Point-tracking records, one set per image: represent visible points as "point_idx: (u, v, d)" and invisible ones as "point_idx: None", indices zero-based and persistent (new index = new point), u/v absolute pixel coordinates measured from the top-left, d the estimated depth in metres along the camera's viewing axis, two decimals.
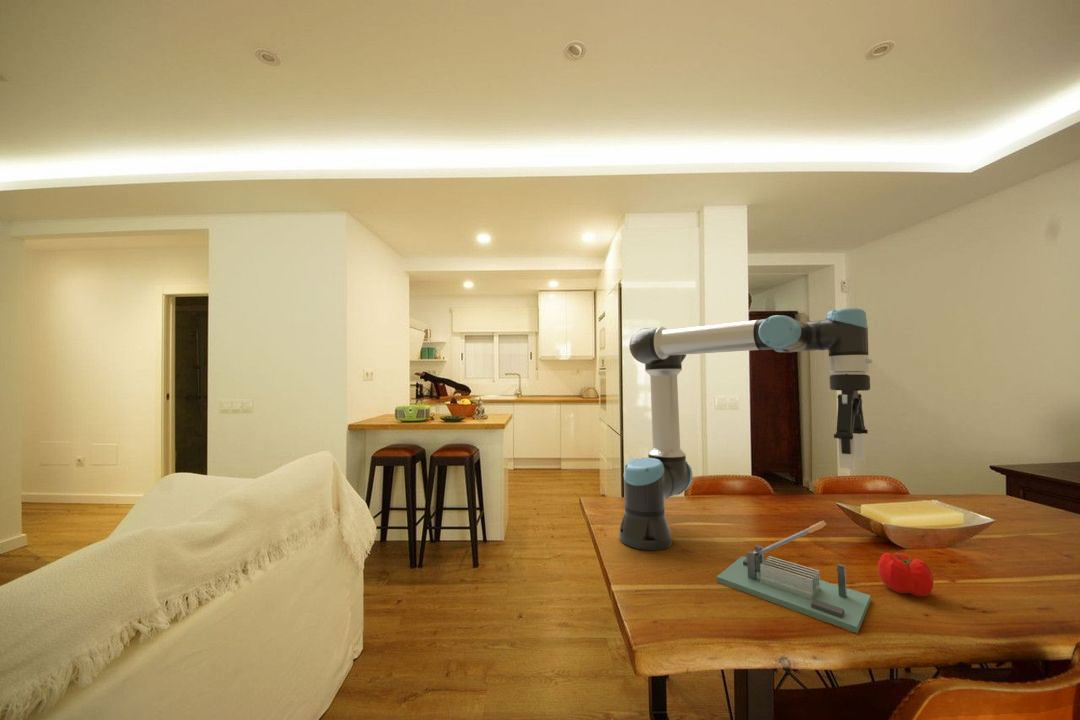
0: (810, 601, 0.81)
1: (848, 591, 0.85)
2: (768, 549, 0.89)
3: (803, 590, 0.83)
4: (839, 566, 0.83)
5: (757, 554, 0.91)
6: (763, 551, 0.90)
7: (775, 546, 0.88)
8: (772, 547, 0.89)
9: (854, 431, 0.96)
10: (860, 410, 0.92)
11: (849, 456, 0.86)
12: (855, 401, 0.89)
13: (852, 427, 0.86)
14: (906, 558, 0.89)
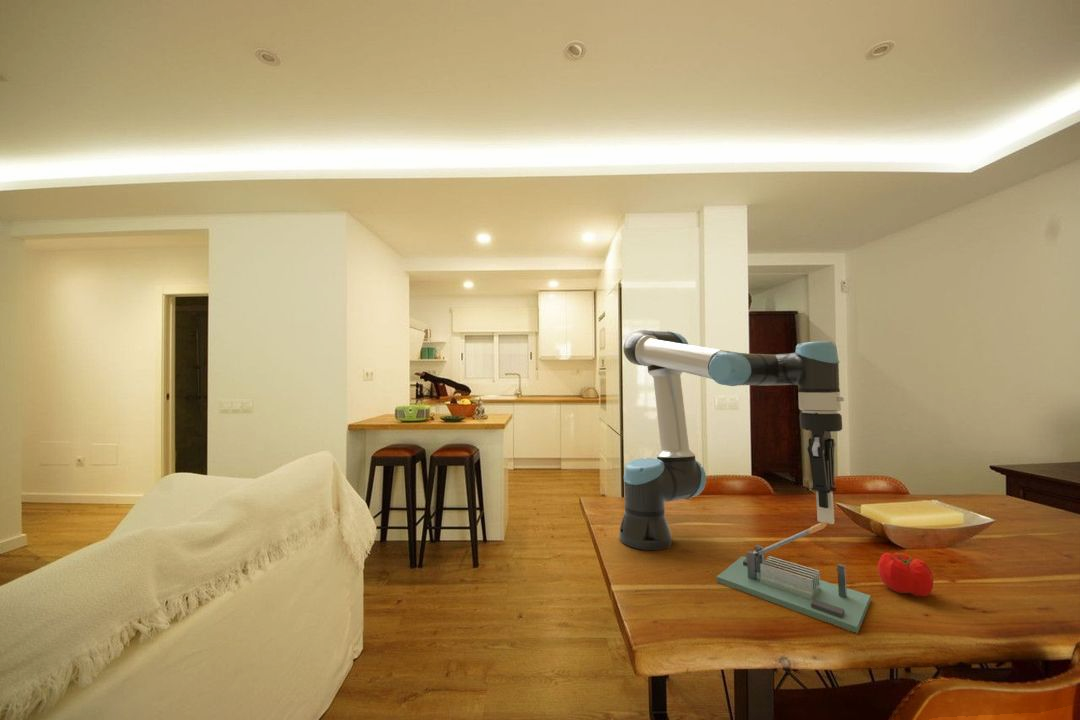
0: (810, 601, 0.81)
1: (848, 591, 0.85)
2: (768, 549, 0.89)
3: (803, 590, 0.83)
4: (839, 566, 0.83)
5: (757, 554, 0.91)
6: (763, 551, 0.90)
7: (775, 546, 0.88)
8: (772, 547, 0.89)
9: None
10: (831, 453, 0.84)
11: (827, 510, 0.83)
12: (826, 444, 0.82)
13: (828, 480, 0.82)
14: (906, 558, 0.89)
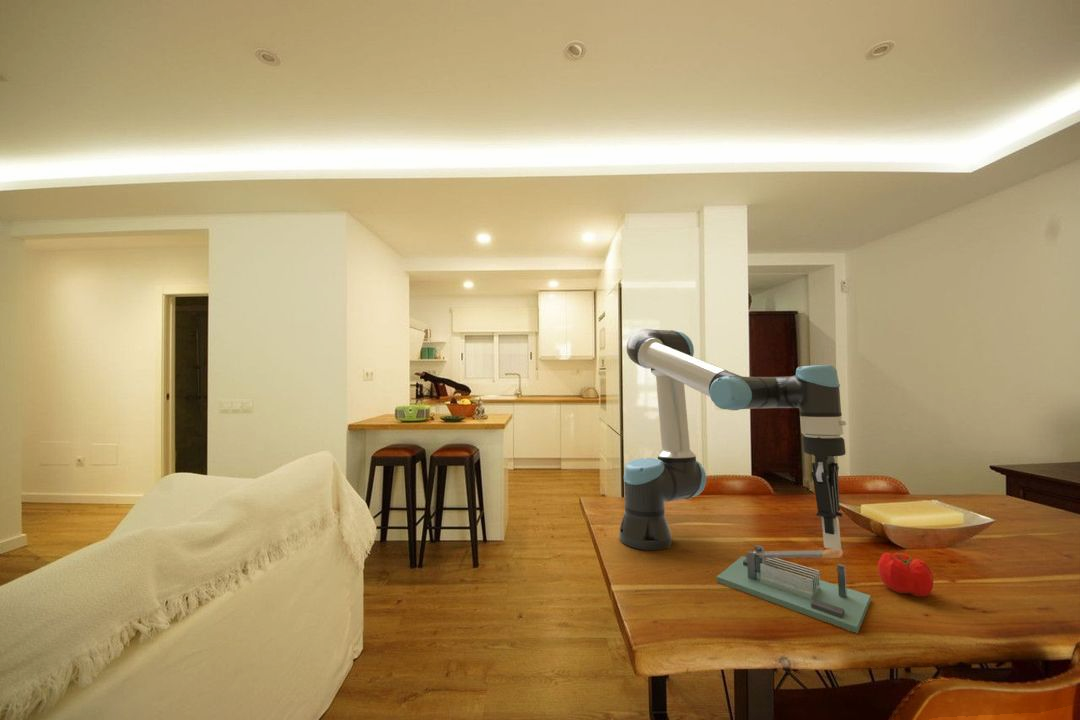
0: (810, 601, 0.81)
1: (848, 591, 0.85)
2: (772, 556, 0.89)
3: (803, 590, 0.83)
4: (839, 566, 0.83)
5: (758, 556, 0.91)
6: (765, 556, 0.90)
7: (780, 556, 0.87)
8: (777, 556, 0.88)
9: None
10: (835, 478, 0.83)
11: (833, 536, 0.81)
12: (830, 469, 0.81)
13: (833, 506, 0.81)
14: (906, 558, 0.89)
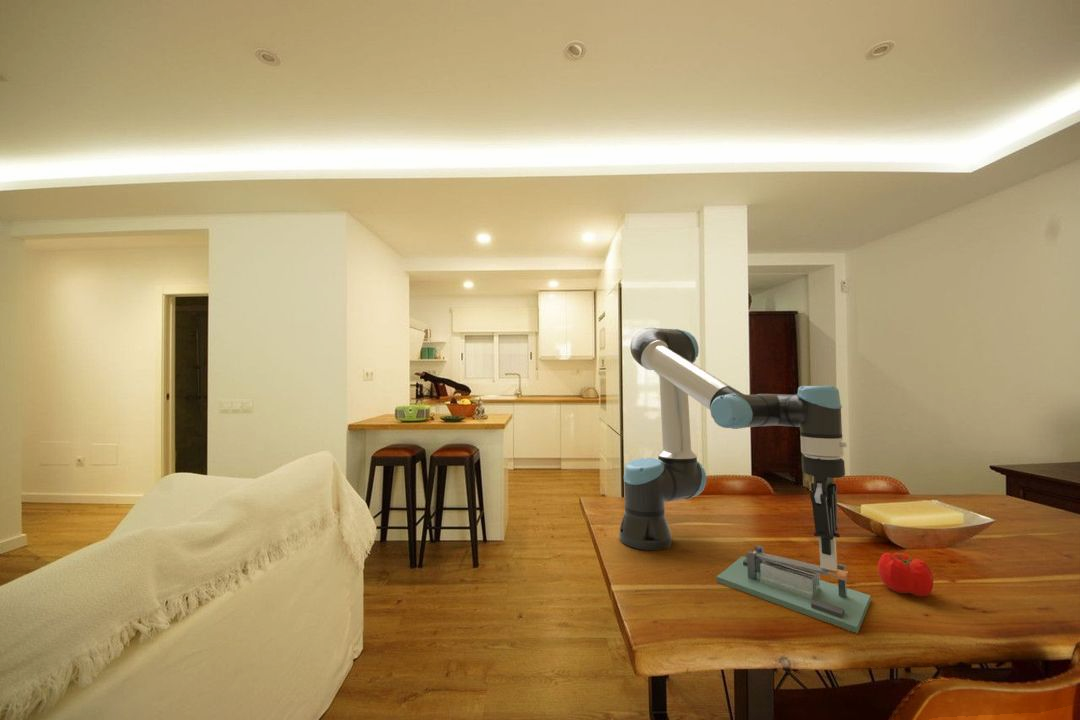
0: (810, 601, 0.81)
1: (848, 591, 0.85)
2: (773, 561, 0.89)
3: (803, 590, 0.83)
4: (839, 566, 0.83)
5: (758, 557, 0.91)
6: (766, 559, 0.90)
7: (782, 563, 0.87)
8: (778, 562, 0.88)
9: None
10: (834, 499, 0.83)
11: (830, 556, 0.82)
12: (829, 491, 0.81)
13: (831, 527, 0.81)
14: (906, 558, 0.89)
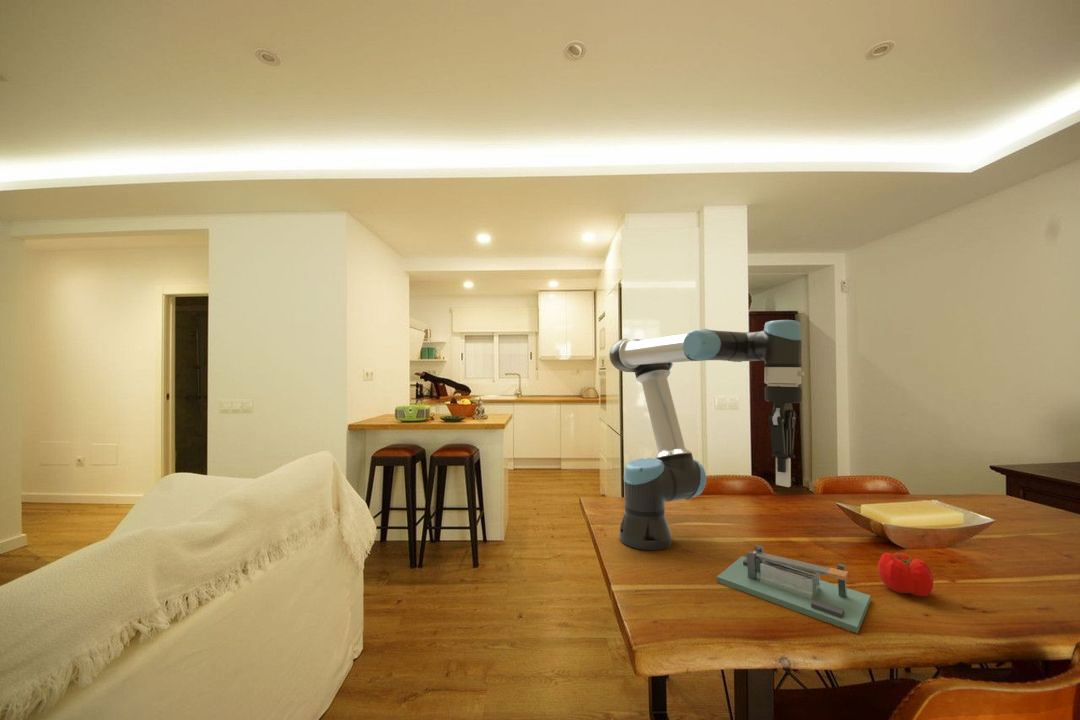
0: (810, 601, 0.81)
1: (848, 591, 0.85)
2: (773, 561, 0.89)
3: (803, 590, 0.83)
4: (839, 566, 0.83)
5: (758, 557, 0.91)
6: (766, 559, 0.90)
7: (782, 563, 0.87)
8: (778, 562, 0.88)
9: None
10: (791, 423, 0.91)
11: (784, 474, 0.90)
12: (786, 415, 0.89)
13: (786, 447, 0.89)
14: (906, 558, 0.89)
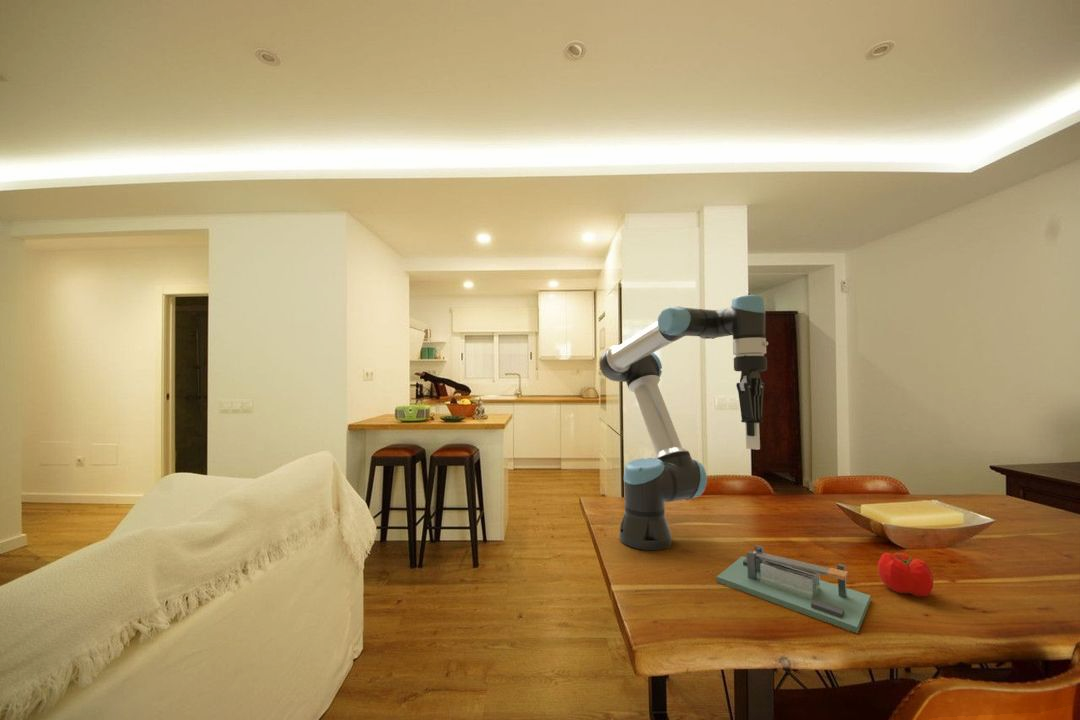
0: (810, 601, 0.81)
1: (848, 591, 0.85)
2: (773, 561, 0.89)
3: (803, 590, 0.83)
4: (839, 566, 0.83)
5: (758, 557, 0.91)
6: (766, 559, 0.90)
7: (782, 563, 0.87)
8: (778, 562, 0.88)
9: None
10: (758, 390, 0.98)
11: (753, 438, 0.97)
12: (753, 382, 0.96)
13: (754, 412, 0.96)
14: (906, 558, 0.89)
